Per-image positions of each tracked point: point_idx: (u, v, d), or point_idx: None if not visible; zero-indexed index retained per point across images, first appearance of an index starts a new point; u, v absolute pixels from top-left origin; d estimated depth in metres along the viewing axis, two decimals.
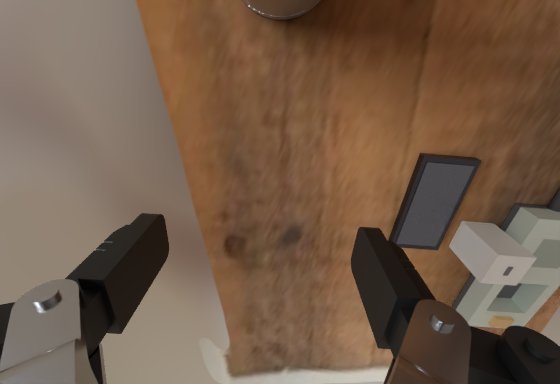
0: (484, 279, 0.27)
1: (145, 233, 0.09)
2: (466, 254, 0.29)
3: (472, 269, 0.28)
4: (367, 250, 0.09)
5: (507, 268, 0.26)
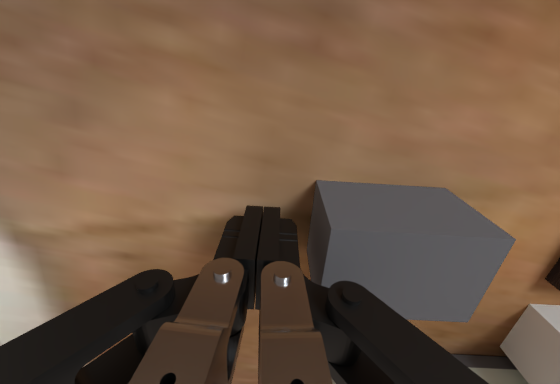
0: None
1: (260, 222, 0.10)
2: None
3: None
4: None
5: None
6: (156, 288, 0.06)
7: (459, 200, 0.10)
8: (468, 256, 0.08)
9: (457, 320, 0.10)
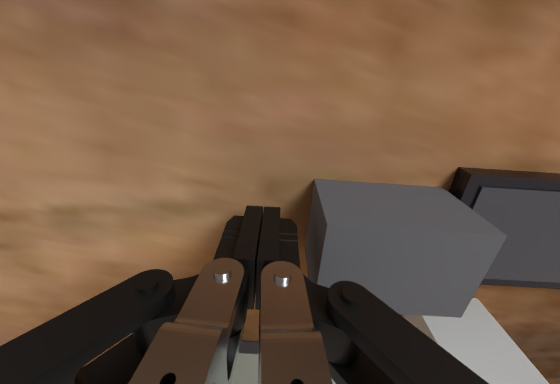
0: None
1: (260, 222, 0.10)
2: (461, 343, 0.12)
3: None
4: None
5: None
6: (156, 288, 0.06)
7: (454, 198, 0.11)
8: (461, 252, 0.09)
9: (451, 315, 0.10)
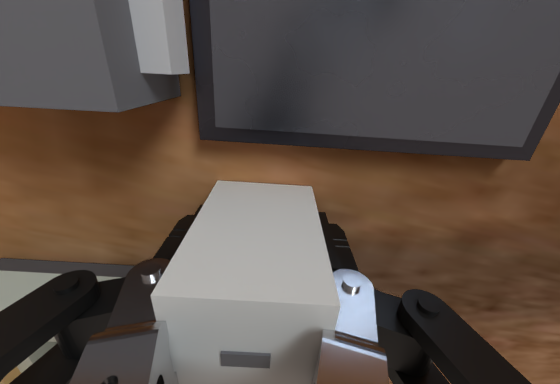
0: (177, 303, 0.05)
1: None
2: (234, 218, 0.08)
3: (193, 248, 0.07)
4: None
5: (259, 352, 0.06)
6: (77, 286, 0.06)
7: None
8: None
9: (96, 106, 0.06)
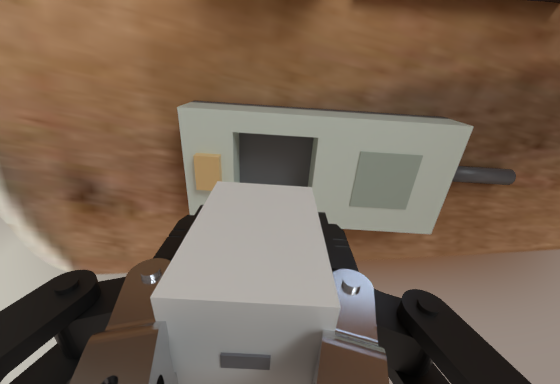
0: (177, 305, 0.05)
1: None
2: (234, 219, 0.08)
3: (193, 249, 0.07)
4: None
5: (259, 354, 0.06)
6: (77, 286, 0.06)
7: None
8: None
9: None
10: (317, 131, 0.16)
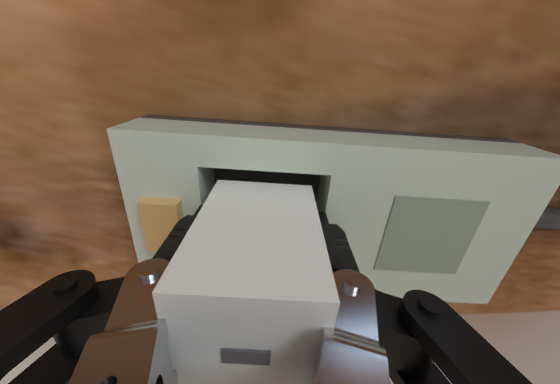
0: (179, 300, 0.05)
1: None
2: (234, 217, 0.08)
3: (194, 246, 0.07)
4: None
5: (260, 349, 0.06)
6: (76, 287, 0.06)
7: None
8: None
9: None
10: (330, 166, 0.10)
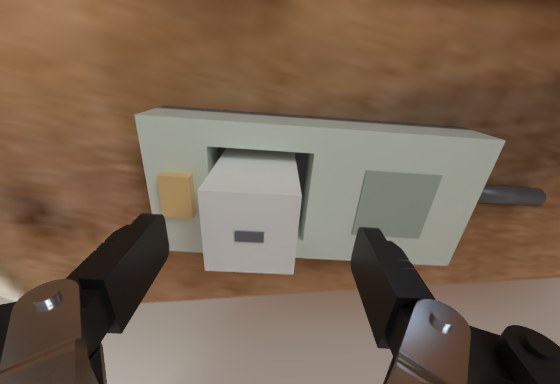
0: (211, 195, 0.10)
1: (145, 233, 0.09)
2: (240, 164, 0.12)
3: (217, 175, 0.11)
4: (367, 250, 0.09)
5: (257, 231, 0.10)
6: None
7: None
8: None
9: None
10: (313, 145, 0.12)
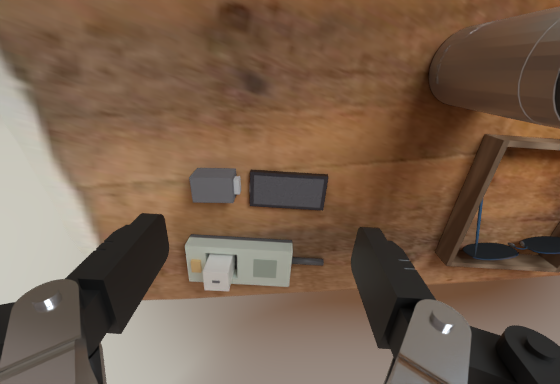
0: (206, 272, 0.40)
1: (145, 233, 0.09)
2: (215, 258, 0.42)
3: (207, 264, 0.41)
4: (367, 250, 0.09)
5: (218, 280, 0.40)
6: None
7: (233, 171, 0.38)
8: (223, 183, 0.36)
9: (230, 202, 0.37)
10: (236, 253, 0.42)
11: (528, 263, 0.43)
